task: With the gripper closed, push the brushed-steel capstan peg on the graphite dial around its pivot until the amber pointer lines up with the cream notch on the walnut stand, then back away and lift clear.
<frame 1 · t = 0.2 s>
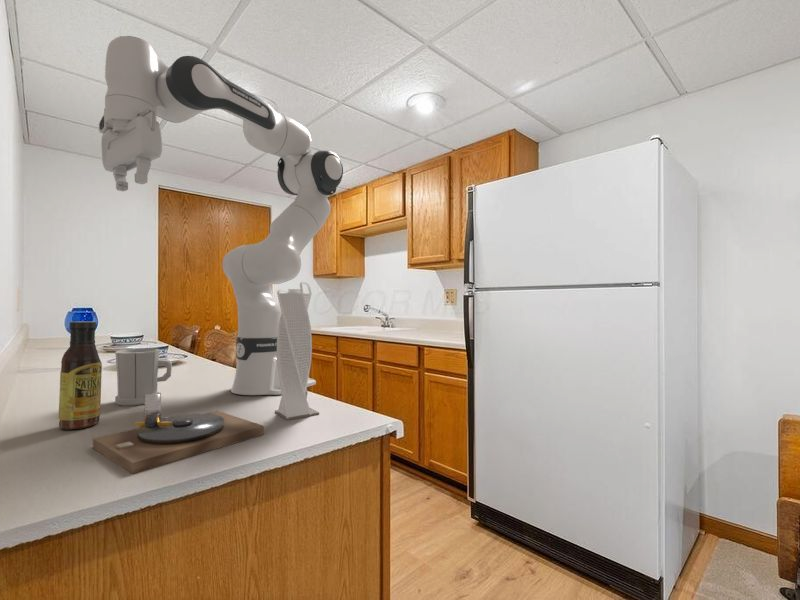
hand: (131, 187, 84), 47 cm above the counter, fingers open, 8 cm apart
stand: (182, 440, 70), on the counter
skyscraper: (295, 415, 86), on the counter
cup: (141, 401, 97), on the counter
dial: (178, 412, 70), point 5 cm above the counter, hinge at -50.0°
sauce bottle: (80, 426, 78), on the counter
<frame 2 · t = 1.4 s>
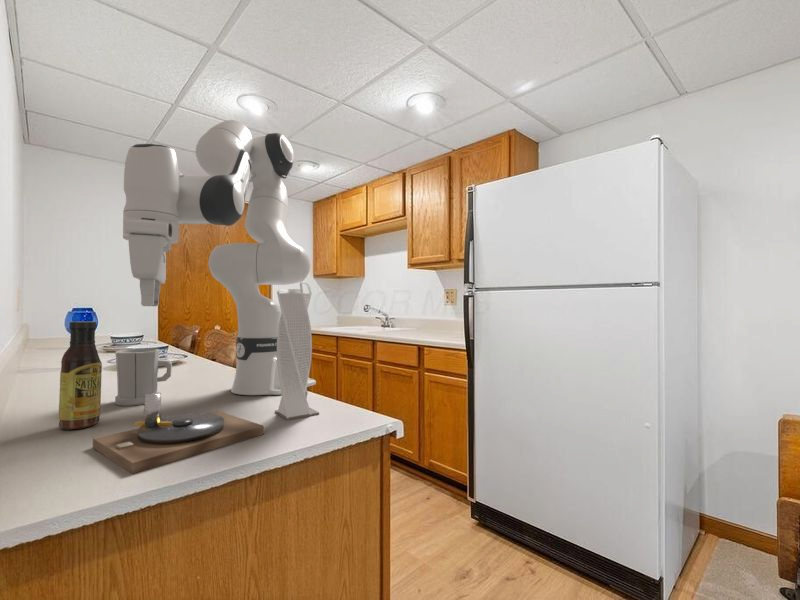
hand: (150, 306, 75), 23 cm above the counter, fingers open, 8 cm apart
nothing on the counter moved.
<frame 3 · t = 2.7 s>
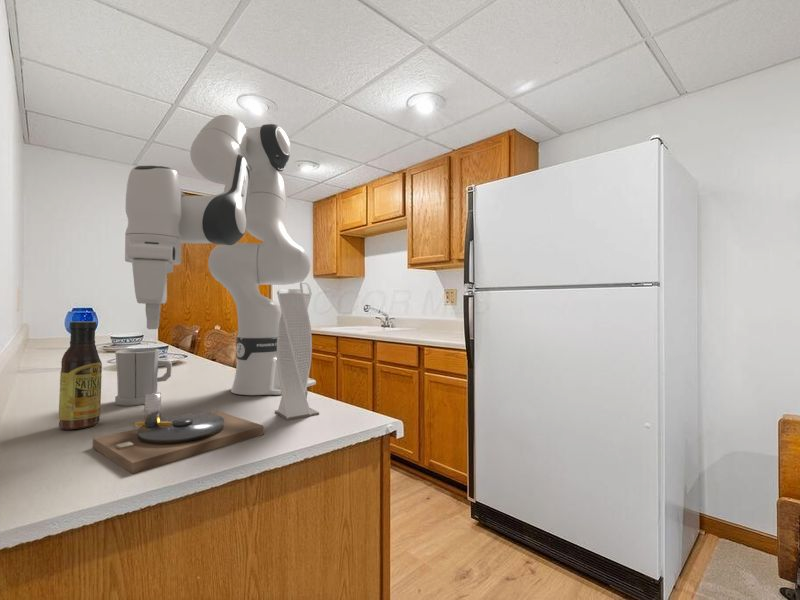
hand: (153, 328, 75), 19 cm above the counter, fingers closed
nothing on the counter moved.
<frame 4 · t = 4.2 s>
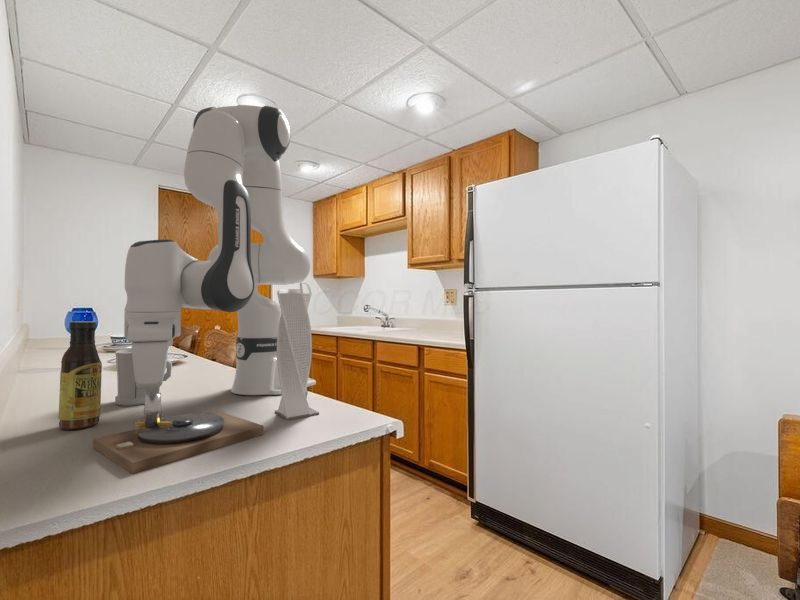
hand: (153, 403, 74), 5 cm above the counter, fingers closed
nothing on the counter moved.
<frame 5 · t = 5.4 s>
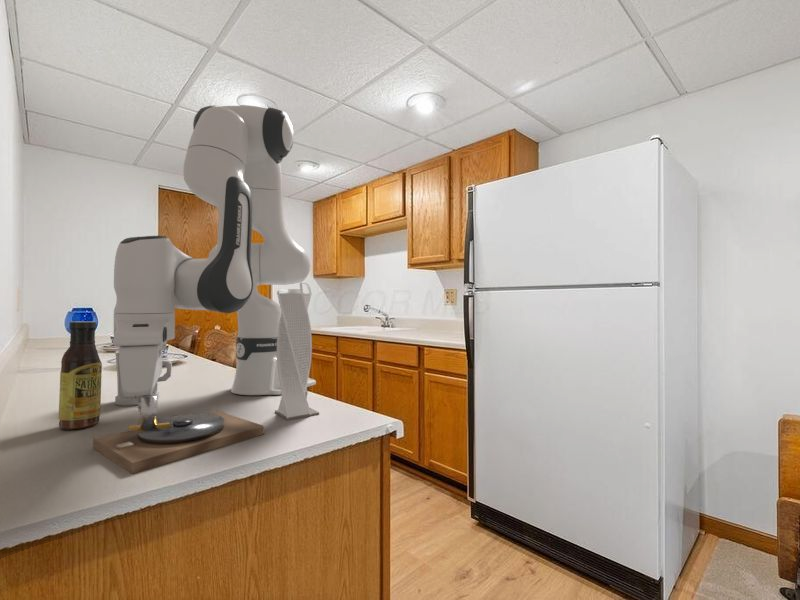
hand: (145, 411, 70), 5 cm above the counter, fingers closed, pressing on dial
dial: (178, 412, 70), point 5 cm above the counter, hinge at -31.7°, touching gripper
everything else where it was.
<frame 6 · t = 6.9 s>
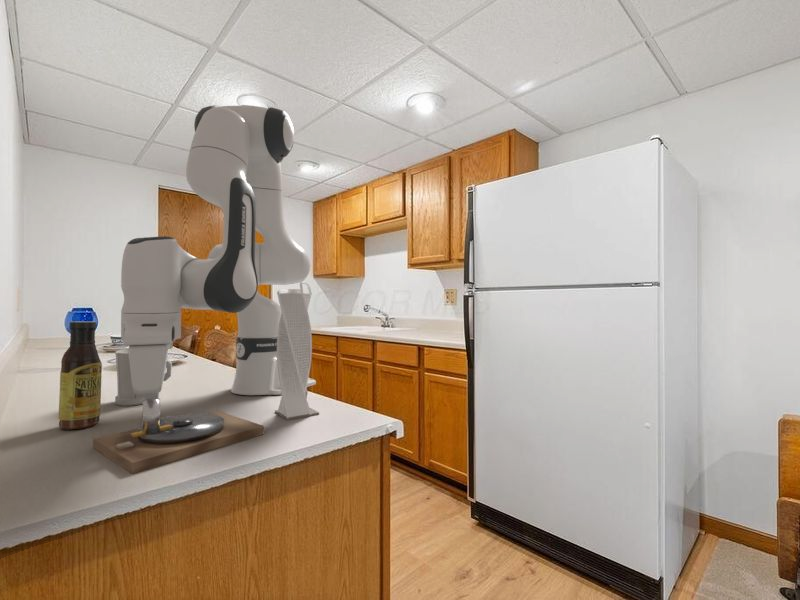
hand: (151, 409, 71), 5 cm above the counter, fingers closed
dial: (178, 412, 69), point 5 cm above the counter, hinge at 1.5°
everything else where it was.
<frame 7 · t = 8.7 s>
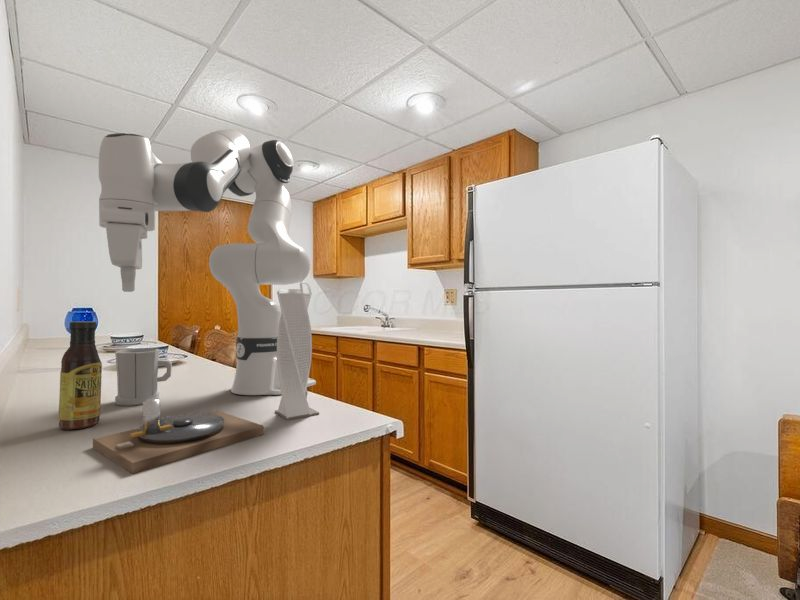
hand: (128, 291, 78), 26 cm above the counter, fingers closed
nothing on the counter moved.
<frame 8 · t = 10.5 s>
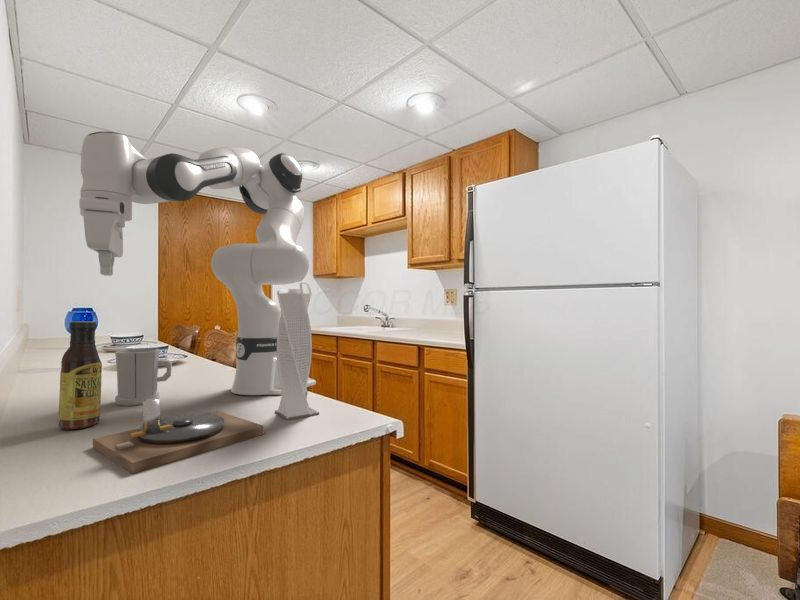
hand: (106, 275, 86), 29 cm above the counter, fingers closed
nothing on the counter moved.
at the end: dial at +2° (first picture: -50°) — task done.
